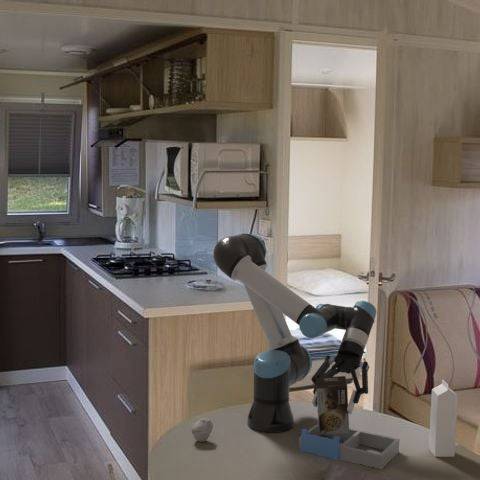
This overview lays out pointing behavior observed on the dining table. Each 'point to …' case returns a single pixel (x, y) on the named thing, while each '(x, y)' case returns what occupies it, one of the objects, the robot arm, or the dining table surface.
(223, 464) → the dining table surface
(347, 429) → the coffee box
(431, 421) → the milk
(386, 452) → the two-compartment sorting tray
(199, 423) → the grey lumpy rounded piece
